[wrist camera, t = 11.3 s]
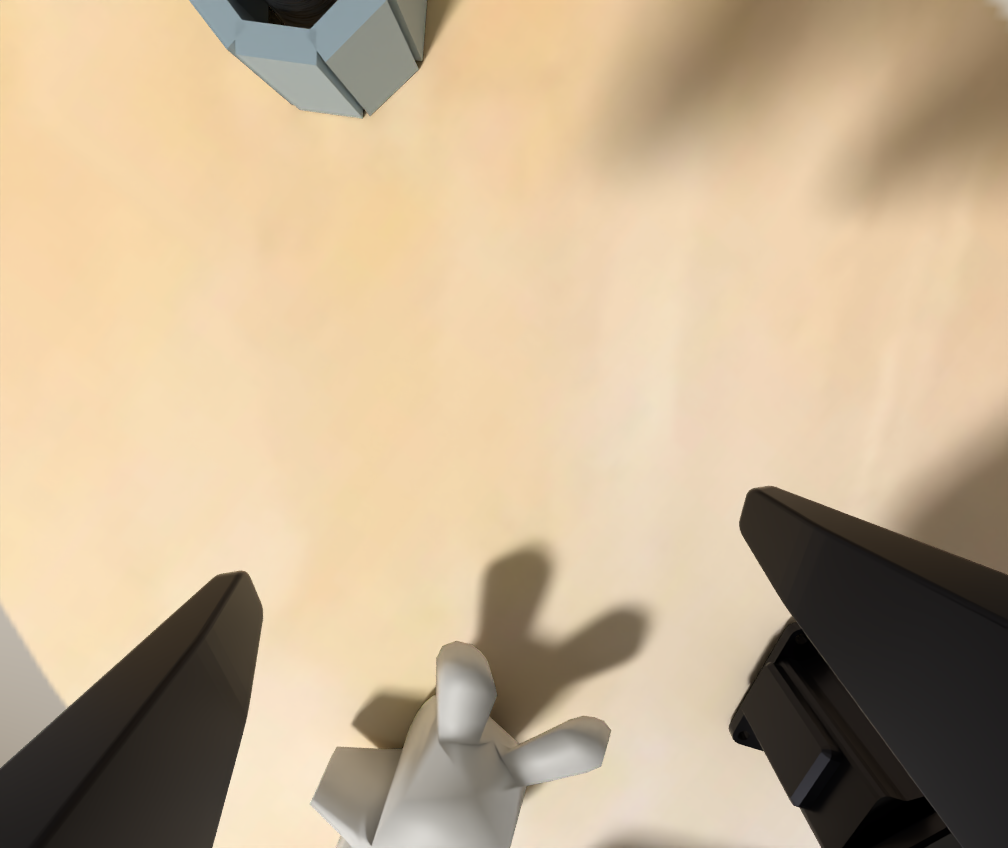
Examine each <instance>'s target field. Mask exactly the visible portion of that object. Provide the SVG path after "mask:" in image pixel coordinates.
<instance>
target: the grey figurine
mask: <svg viewBox="0 0 1008 848" xmlns="http://www.w3.org/2000/svg"><path fill="white" fill-rule="evenodd" d="M496 697H497V692H496V687H495V683H494V680H493V677H492V673H491V670H490V667H489V663H488V660H487V659H486V658H485V656H484V655H483V654H482V652H481V651H480V650H478V649H477V648H476V647H474V646H473V645H471V644H467V643H463V642H459V641H455V642H452V643H449V644H446V645H444V646H442V648H441V650H440V652H439V654H438V656H437V660H436V696H435V695H433V696H432V697H431V698H430V699H428V700H427V701H426V702H425V703H424V704H423V705H422V706H421V708H420V709H419V711H418V712H417V714H416V715H415V718H414V720H413V722H412V724H411V726H410V728H409V731H408V734H407V737H406V740H405V743H404V746H403V749H373V748H353V747H336V749H335V751H334V753H333V755H332V757H331V758H330V761H329V763H328V765H327V767H326V769H325V772H324V774H323V776H322V778H321V780H320V783H319V785H318V787H317V789H316V791H315V793H314V796H313V798H312V800H311V802H310V805H311V806H312V807H313V808H314V809H315V810H316V811H317V812H318V813H319V814H320V815H321V816H322V817H323V818H324V819H325V820H326V821H327V822H328V823H329V824H330V825H331V826H332V827H333V828H334V829H335V830H336V831H337V832H338V833H339V834H340V835H341V836H340V839H339V841H338V844H337V847H336V848H510V846H511V842H512V839H513V835H514V831H515V827H516V824H517V820H518V816H519V812H520V809H521V805H522V801H523V798H524V794H525V790H526V786H528V785H533V784H538V783H543V782H547V781H552V780H557V779H561V778H565V777H569V776H574V775H578V774H582V773H586V772H589V771H591V770H594V769H596V768H598V767H601V765H602V761H603V758H604V755H605V751H606V748H607V744H608V741H609V737H610V733H611V729H610V728H609V727H608V726H607V724H606V723H605V722H604V721H602V720H600V719H597V718H595V717H588V716H581V717H577V718H574V719H570V720H568V721H566V722H564V723H562V724H560V725H558V726H556V727H554V728H552V729H550V730H548V731H546V732H544V733H542V734H540V735H538V736H535V737H533V738H531V739H529V740H527V741H525V742H523V743H521V744H518V742H517V741H516V740H515V739H514V738H512V737H511V736H510V735H509V734H508V733H507V732H506V731H505V730H504V729H503V728H502V727H501V726H499V725H498V724H497V723H496V722H495V721H494V720H493V719H492V718H491V717H490V716H489V715H490V713H491V710H492V707H493V705H494V702H495V700H496Z"/></svg>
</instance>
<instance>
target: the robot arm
mask: <svg viewBox="0 0 1008 848" xmlns="http://www.w3.org/2000/svg"><path fill="white" fill-rule="evenodd" d="M739 527H740V531H741V534H742V536H743V537H744V539H745V541H746V542H747V544H748V546H749V547H750V549H751V551H752V552H753V554H754V556H755V557H756V559H757V561H758V562H759V564H760V566H761V567H762V569H763V571H764V572H765V574H766V576H767V577H768V579H769V581H770V582H771V584H772V586H773V587H774V589H775V591H776V592H777V594H778V595H779V597H780V599H781V600H782V602H783V603H784V605H785V606H786V608H787V609H788V611H789V612H790V613H791V615H792V616H793V618H794V619H795V620H796V623H792V624H790V625H788V626H787V627H786V629H785V630H784V632H783V634H782V635H781V637H780V639H779V640H778V642H777V644H776V646H775V647H774V649H773V651H772V653H771V654H770V656H769V658H768V659H767V661H766V663H765V665H764V666H763V668H762V670H761V671H760V673H759V675H758V677H757V678H756V680H755V682H754V683H753V685H752V687H751V689H750V690H749V692H748V694H747V695H746V697H745V699H744V701H743V702H742V704H741V706H740V707H739V709H738V711H737V713H736V714H735V716H734V718H733V720H732V721H731V723H730V725H729V732H730V734H731V736H732V738H733V740H734V741H735V742H737V743H738V744H741V745H745V746H748V747H751V748H754V749H758V750H761V751H764V752H765V754H766V756H767V758H768V760H769V762H770V764H771V766H772V768H773V769H774V771H775V773H776V775H777V777H778V779H779V781H780V783H781V784H782V786H783V788H784V790H785V792H786V794H787V796H788V798H789V800H790V801H791V803H792V804H793V805H794V806H796V807H799V808H800V809H801V811H802V813H803V815H804V817H805V819H806V820H807V822H808V824H809V826H810V828H811V830H812V831H813V833H814V835H815V837H816V839H817V841H818V843H819V844H820V846H821V848H1008V575H1007V574H1004V573H1001V572H999V571H996V570H993V569H991V568H988V567H986V566H983V565H980V564H978V563H975V562H972V561H970V560H967V559H964V558H962V557H959V556H956V555H954V554H951V553H949V552H946V551H943V550H941V549H938V548H935V547H933V546H930V545H927V544H925V543H922V542H919V541H917V540H914V539H912V538H909V537H906V536H904V535H901V534H898V533H896V532H893V531H890V530H888V529H885V528H882V527H880V526H877V525H875V524H872V523H869V522H867V521H864V520H861V519H859V518H856V517H853V516H851V515H848V514H845V513H843V512H840V511H838V510H835V509H832V508H830V507H827V506H824V505H822V504H819V503H816V502H814V501H811V500H808V499H806V498H803V497H801V496H798V495H795V494H793V493H790V492H787V491H785V490H782V489H779V488H777V487H774V486H765V487H758V488H753V489H751V490H750V491H749V492H748V493H747V495H746V498H745V502H744V506H743V510H742V513H741V517H740V521H739ZM262 622H263V608H262V604H261V601H260V599H259V597H258V594H257V592H256V590H255V587H254V585H253V583H252V580H251V578H250V576H249V574H248V573H247V572H245V571H235V572H229V573H223V574H219V575H217V576H215V577H214V578H213V579H211V580H210V581H209V582H208V583H207V584H206V585H205V586H204V587H202V588H201V589H200V590H199V591H198V592H197V593H196V594H195V595H193V596H192V597H191V598H190V599H189V600H188V601H187V602H186V603H184V604H183V605H182V606H181V607H180V608H179V609H178V610H177V611H176V612H174V613H173V614H172V615H171V616H170V617H169V618H168V619H167V620H165V621H164V622H163V623H162V624H161V625H160V626H159V627H158V628H157V629H155V630H154V631H153V632H152V633H151V634H150V635H149V636H148V637H146V638H145V639H144V640H143V641H142V642H141V643H140V644H139V645H138V646H136V647H135V648H134V649H133V650H132V651H131V652H130V653H129V654H127V655H126V656H125V657H124V658H123V659H122V660H121V661H120V662H119V663H117V664H116V665H115V666H114V667H113V668H112V669H111V670H110V671H108V672H107V673H106V674H105V675H104V676H103V677H102V678H101V679H100V680H98V681H97V682H96V683H95V684H94V685H93V686H92V687H91V688H89V689H88V690H87V691H86V692H85V693H84V694H83V695H82V696H80V697H79V698H78V699H77V700H76V701H75V702H74V703H73V704H72V705H70V706H69V707H68V708H67V709H66V710H65V711H64V712H63V713H62V714H60V715H59V716H58V717H57V718H56V719H55V720H54V721H53V722H51V723H50V724H49V725H48V726H47V727H46V728H45V729H44V730H42V731H41V732H40V733H39V734H38V735H37V736H36V737H35V738H34V739H33V740H31V741H30V742H29V743H28V744H27V745H26V746H25V747H23V749H21V750H20V751H19V752H18V753H17V754H16V755H15V756H13V757H12V758H11V759H10V760H9V761H8V762H7V763H6V764H4V765H3V766H2V767H1V768H0V848H212V847H213V843H214V839H215V836H216V832H217V828H218V825H219V821H220V817H221V813H222V810H223V806H224V802H225V799H226V795H227V791H228V787H229V784H230V780H231V776H232V773H233V769H234V765H235V761H236V758H237V754H238V750H239V747H240V743H241V739H242V735H243V731H244V727H245V723H246V719H247V715H248V709H249V704H250V698H251V692H252V685H253V679H254V673H255V666H256V660H257V654H258V647H259V641H260V635H261V628H262ZM799 634H801V635H800V636H799V637H796V636H797V635H799Z"/></svg>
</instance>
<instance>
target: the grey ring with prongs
mask: <svg viewBox="0 0 1008 848" xmlns="http://www.w3.org/2000/svg"><path fill="white" fill-rule="evenodd" d="M189 1H190V2H191V3H192V5H193V6H194V7H195V9H196V10H197V11H198V12H199V14H200V15H201V16H202V18H203V19H204V20H205V22H206V23H207V24H208V25H209V27H210V28H211V29H212V31H213V32H214V33H215V35H216V36H217V37H218V38H219V40H220V41H221V42H222V44H223V45H224V46H225V48H226V49H227V50H228V51H230V52H231V53H232V54H233V55H234V56H235V57H237V58H238V59H239V60H240V61H241V62H242V63H244V64H245V65H246V66H247V67H248V68H249V69H251V70H252V71H253V72H254V73H255V74H256V75H258V76H259V77H260V78H261V79H262V80H263V81H265V82H266V83H267V84H268V85H269V86H270V87H272V88H273V89H274V90H275V91H276V92H278V93H279V94H280V95H281V96H282V97H283V98H285V99H286V100H287V101H288V102H289V103H290V104H292V105H295V106H296V107H297V108H298V109H299V110H305V111H312V112H319V113H327V114H334V115H341V116H349V117H356V118H363V108H364V109H365V111H366V112H367V113H368V114H369V116H371V115H372V114H373V113H374V112H375V111H376V110H377V109H378V108H379V107H380V106H381V105H382V104H383V103H384V102H385V101H386V100H387V99H388V98H389V97H390V96H392V95H393V94H394V93H395V92H396V91H397V90H398V89H399V88H400V87H401V86H402V85H403V84H404V83H405V82H406V81H407V80H408V79H409V78H410V77H411V76H412V75H414V74H415V73H416V72H417V71H418V70H419V69H418V66H417V64H416V62H415V60H417V61H423V48H424V35H425V22H426V9H427V0H338V1H337V2H336V3H335V4H334V5H333V6H332V7H331V8H330V9H329V10H328V11H327V12H326V13H325V14H324V15H323V16H322V17H321V18H320V19H319V20H318V21H317V23H316V24H315V25H314V26H313V27H312V28H311V29H305V28H298V27H290V26H283V25H276V24H268V4H267V3H266V2H265V0H189Z"/></svg>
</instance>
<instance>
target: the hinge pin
mask: <svg viewBox="0 0 1008 848" xmlns="http://www.w3.org/2000/svg"><path fill="white" fill-rule="evenodd" d="M337 1H338V0H265V2H266V3H267V4H268V5H269V6H270V7H271V9H272V10H273V11H274V12H275V13H276V14H277V16H278V17H279V18H280V19H281V20H282V22H283V23H284V24H285V25H286V26H290V27H298V28H305V29H311V28H312V27H313V26H314V25H315V24H316V23H317V21H318V20H319V19H320V18H321V17H322V16H323V15H324V14H325V13H326V12H327V11H328V10H329V9H330V8H331V7H332V6H333V5H334V4H335V3H336V2H337Z"/></svg>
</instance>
